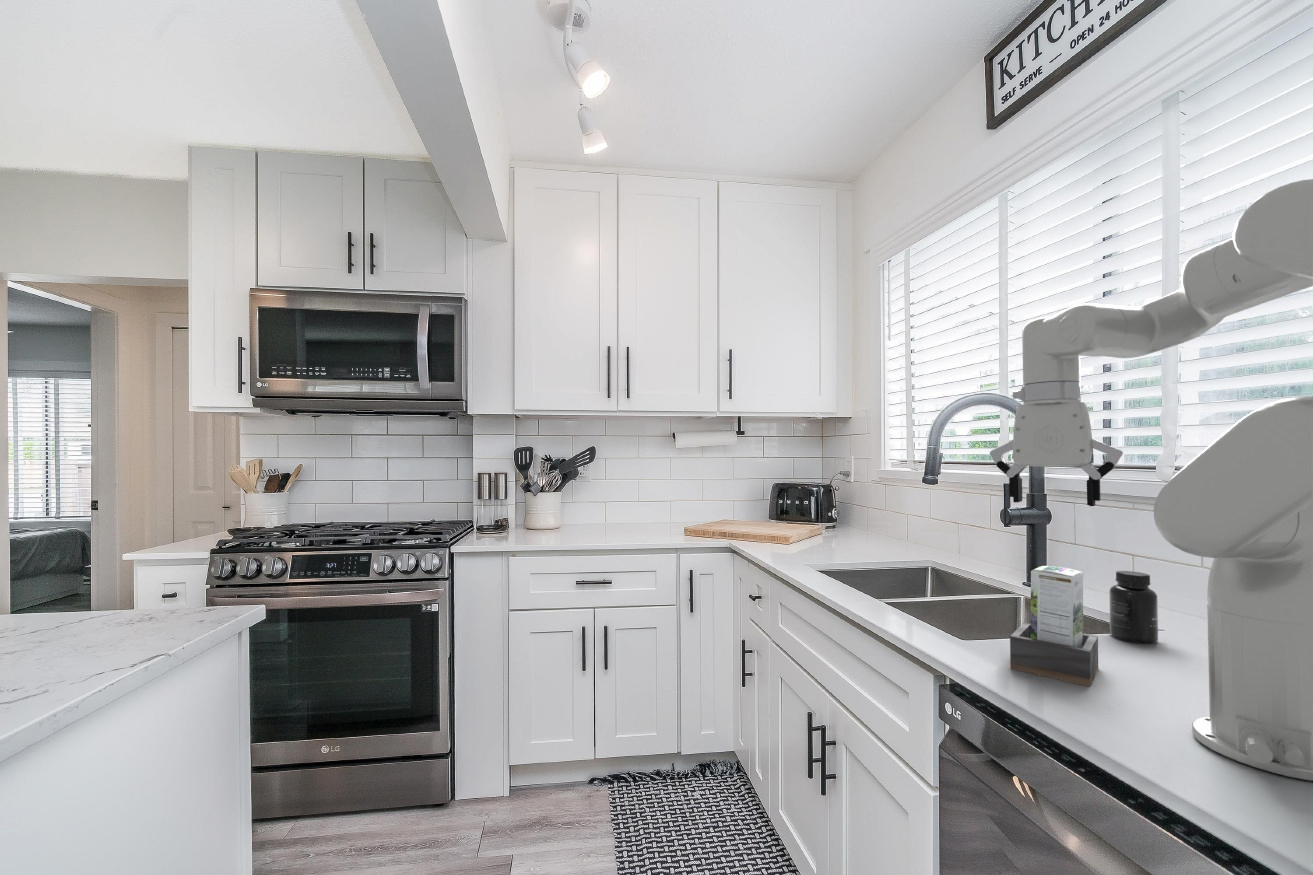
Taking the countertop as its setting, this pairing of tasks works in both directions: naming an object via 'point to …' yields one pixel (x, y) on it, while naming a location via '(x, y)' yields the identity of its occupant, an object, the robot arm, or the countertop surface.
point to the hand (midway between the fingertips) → (1053, 503)
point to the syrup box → (1057, 605)
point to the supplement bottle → (1133, 608)
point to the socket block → (1054, 657)
